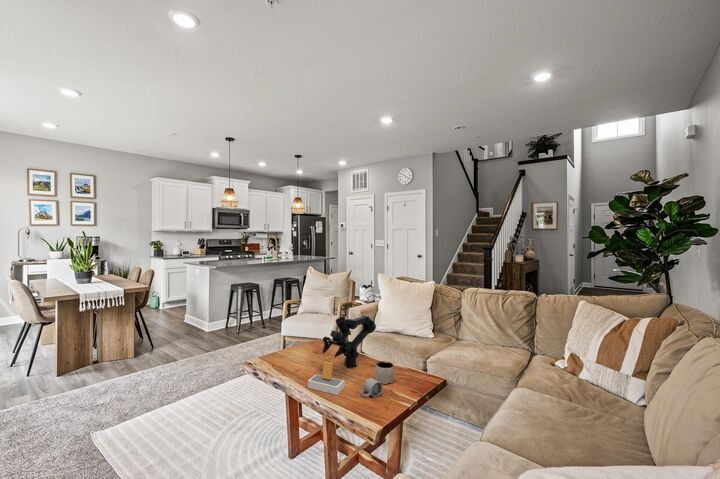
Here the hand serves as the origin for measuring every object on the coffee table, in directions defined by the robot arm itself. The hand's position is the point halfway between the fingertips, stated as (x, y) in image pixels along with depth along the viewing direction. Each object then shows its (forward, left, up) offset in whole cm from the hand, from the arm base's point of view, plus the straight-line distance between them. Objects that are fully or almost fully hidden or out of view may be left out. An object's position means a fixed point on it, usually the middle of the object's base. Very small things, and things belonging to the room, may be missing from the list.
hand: (328, 354), depth 196 cm
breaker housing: (+4, +12, -14) cm, 19 cm away
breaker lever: (+4, +12, -9) cm, 16 cm away
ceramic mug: (-17, +26, -14) cm, 34 cm away
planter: (-31, +13, -14) cm, 36 cm away
